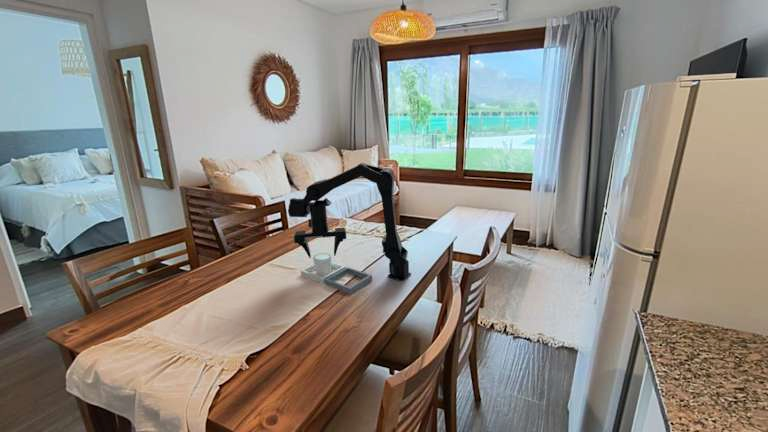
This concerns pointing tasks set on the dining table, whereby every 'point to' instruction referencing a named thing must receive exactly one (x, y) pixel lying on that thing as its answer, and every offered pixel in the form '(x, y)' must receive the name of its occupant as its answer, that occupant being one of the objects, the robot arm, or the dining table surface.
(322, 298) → the dining table surface
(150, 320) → the dining table surface
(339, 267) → the tray
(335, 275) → the tray
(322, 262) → the shot glass
